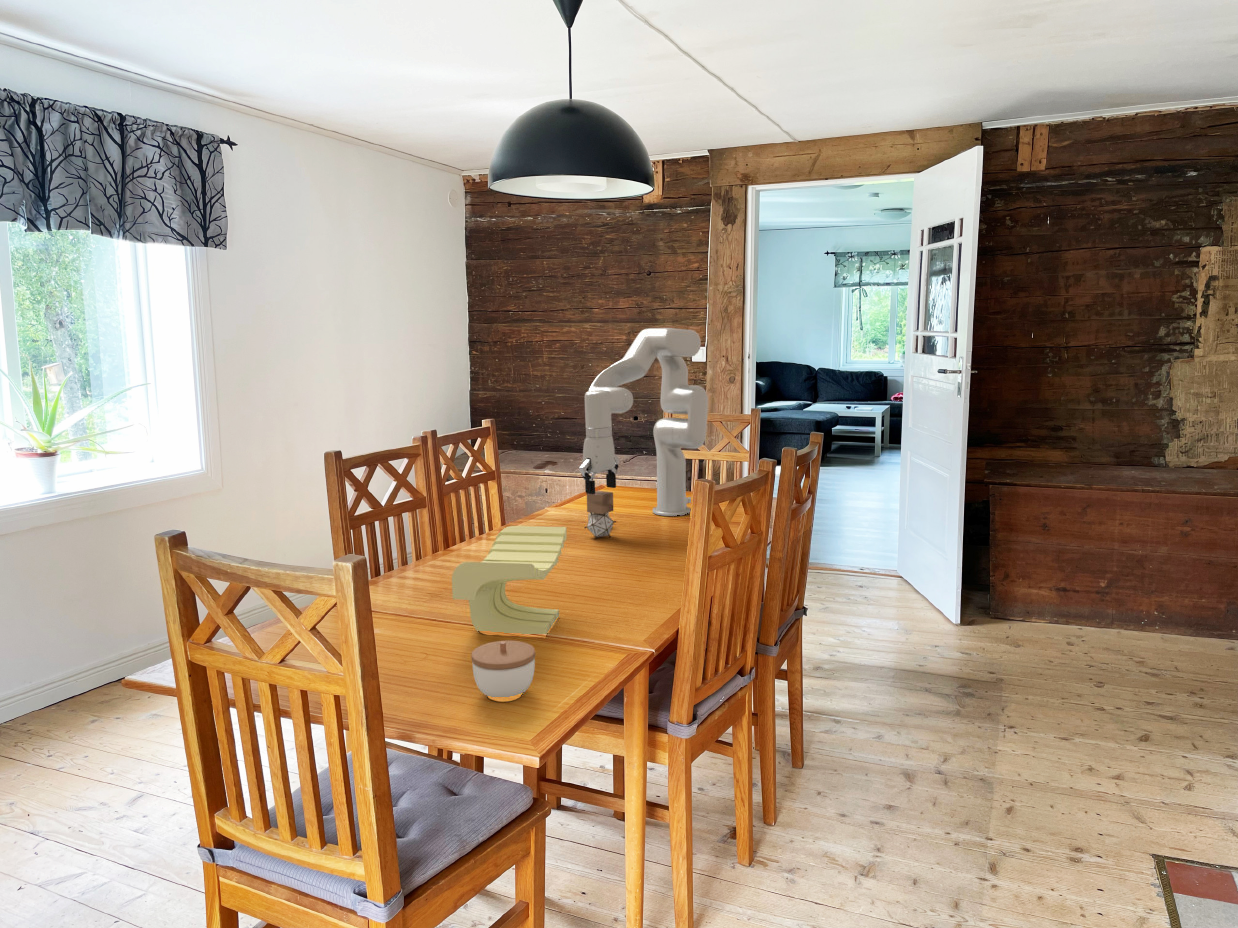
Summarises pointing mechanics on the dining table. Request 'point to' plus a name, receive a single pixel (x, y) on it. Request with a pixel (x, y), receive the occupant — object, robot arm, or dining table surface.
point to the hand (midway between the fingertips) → (601, 490)
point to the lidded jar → (503, 667)
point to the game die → (600, 525)
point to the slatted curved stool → (510, 579)
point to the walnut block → (600, 502)
